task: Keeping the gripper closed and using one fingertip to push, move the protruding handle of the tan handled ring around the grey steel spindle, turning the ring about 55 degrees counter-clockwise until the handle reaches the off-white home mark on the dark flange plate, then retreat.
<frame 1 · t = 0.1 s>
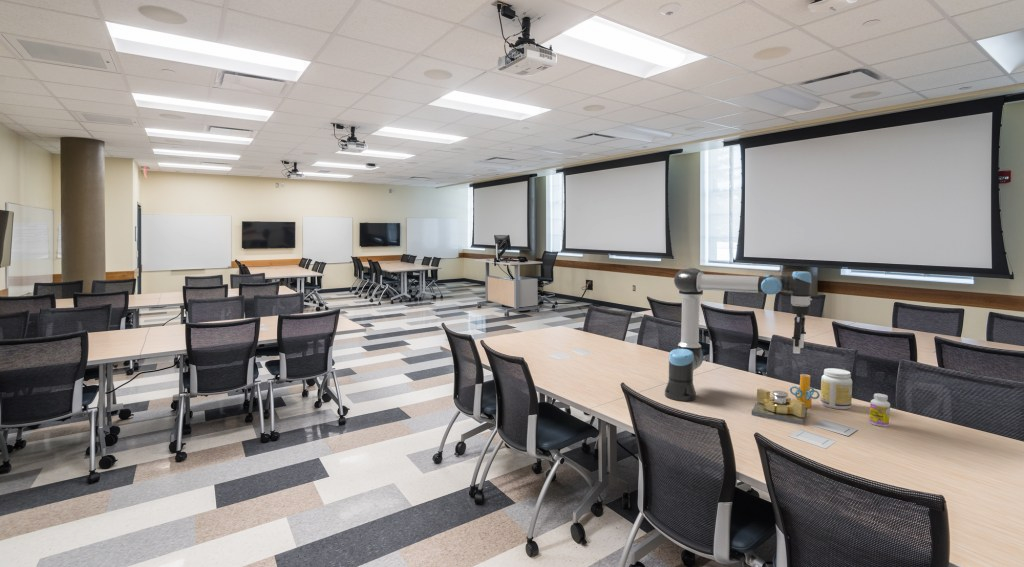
hand: (798, 350, 216), 28 cm above the table, fingers open, 13 cm apart
supplement tub: (835, 406, 222), on the table
tan handled ring: (779, 402, 212), point 5 cm above the table, hinge at 0.0°
cylinder: (803, 406, 222), on the table
supplement bottle: (878, 424, 200), on the table
flange plate: (779, 413, 213), on the table
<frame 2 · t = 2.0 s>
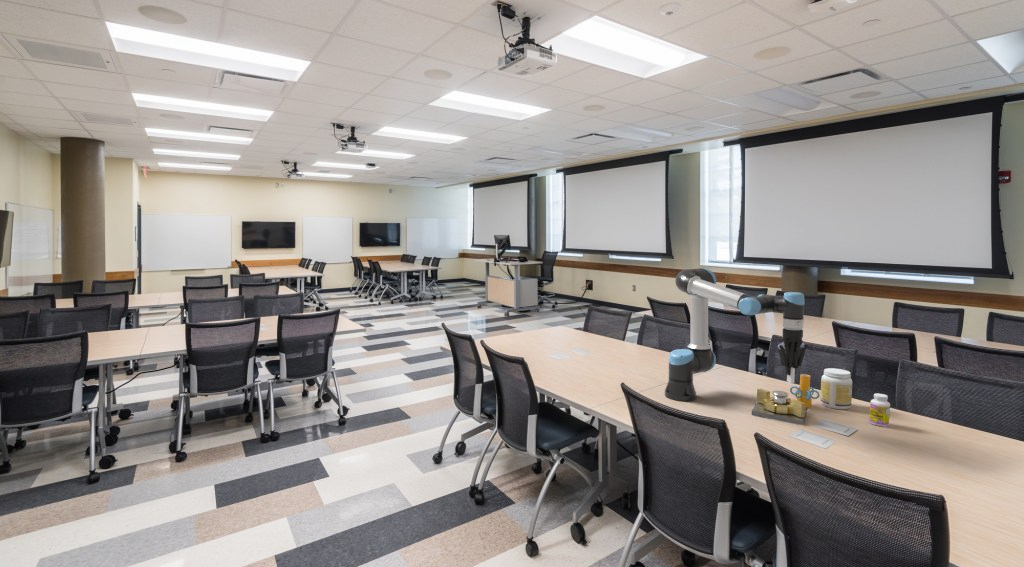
hand: (790, 382, 201), 18 cm above the table, fingers closed
nothing on the table moved.
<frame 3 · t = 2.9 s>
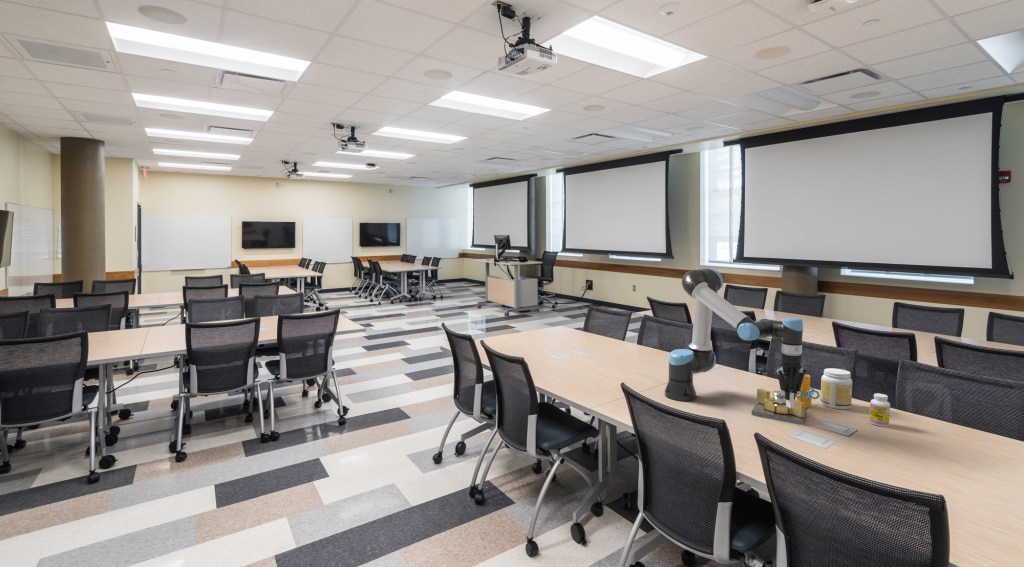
hand: (789, 406, 202), 7 cm above the table, fingers closed
nothing on the table moved.
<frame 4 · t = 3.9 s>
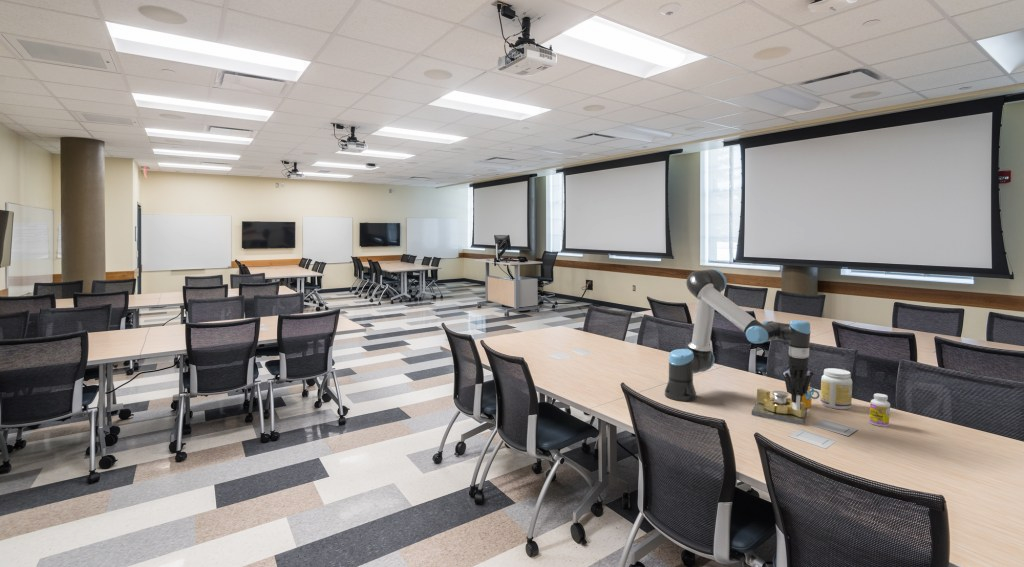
hand: (795, 409, 203), 6 cm above the table, fingers closed
tan handled ring: (779, 402, 212), point 5 cm above the table, hinge at 0.0°, touching gripper
everything else where it was.
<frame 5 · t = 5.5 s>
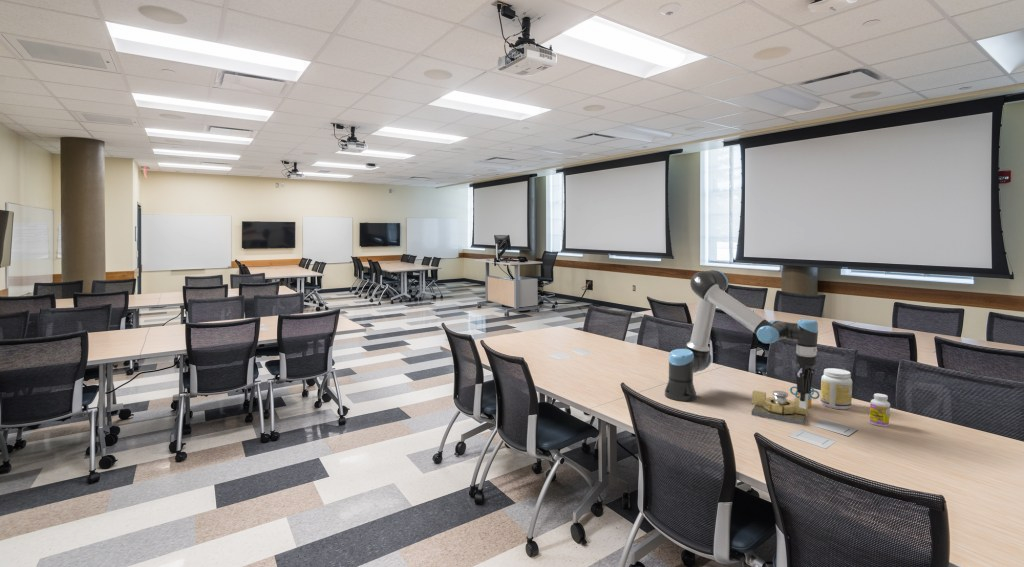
hand: (803, 407, 205), 5 cm above the table, fingers closed
tan handled ring: (779, 402, 212), point 5 cm above the table, hinge at 26.7°, touching gripper
everything else where it was.
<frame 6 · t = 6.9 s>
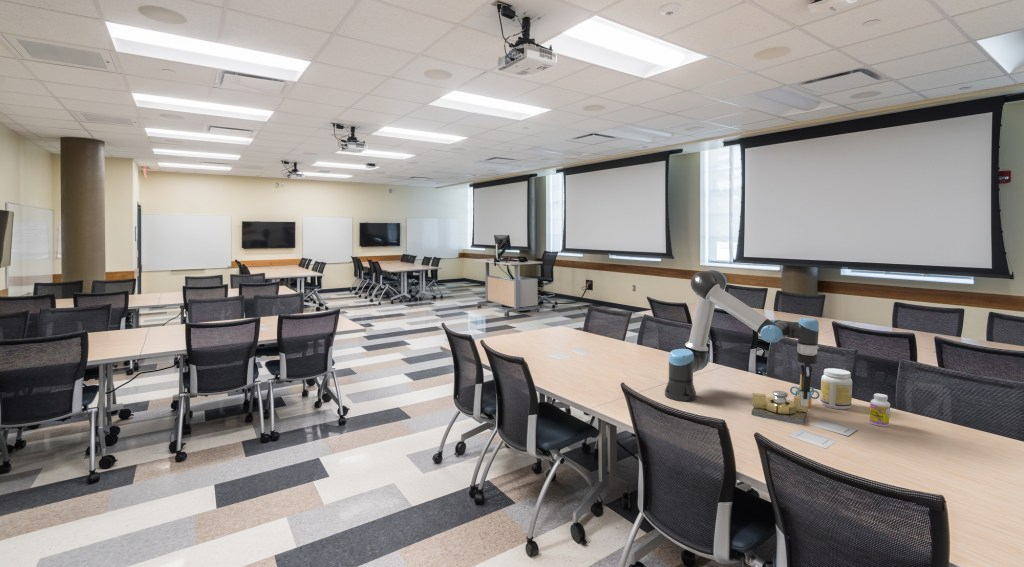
hand: (804, 405, 208), 5 cm above the table, fingers closed
tan handled ring: (779, 402, 212), point 5 cm above the table, hinge at 50.9°, touching gripper
everything else where it was.
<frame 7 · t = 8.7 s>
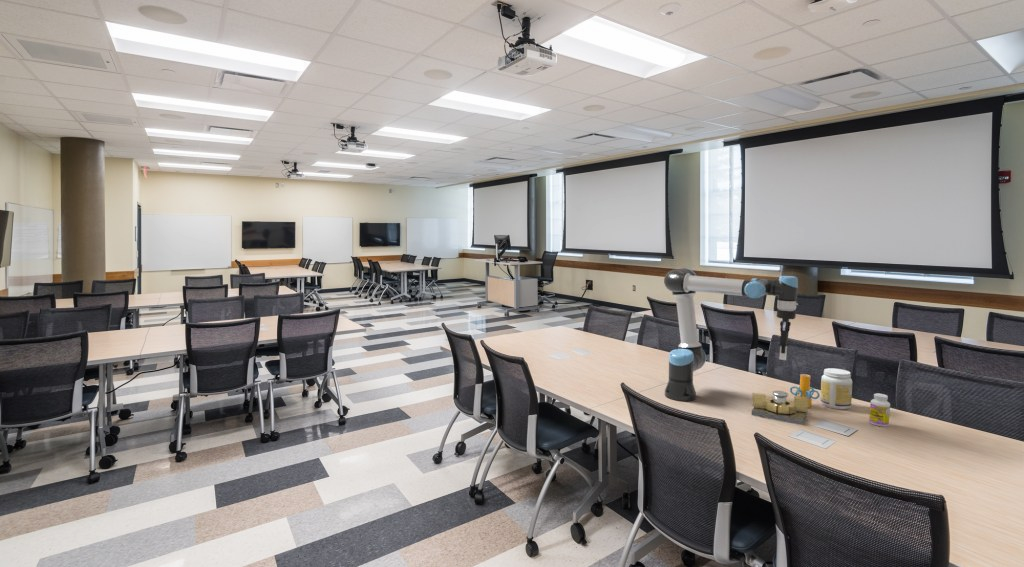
hand: (782, 359, 217), 24 cm above the table, fingers closed
tan handled ring: (779, 402, 212), point 5 cm above the table, hinge at 50.9°
everything else where it was.
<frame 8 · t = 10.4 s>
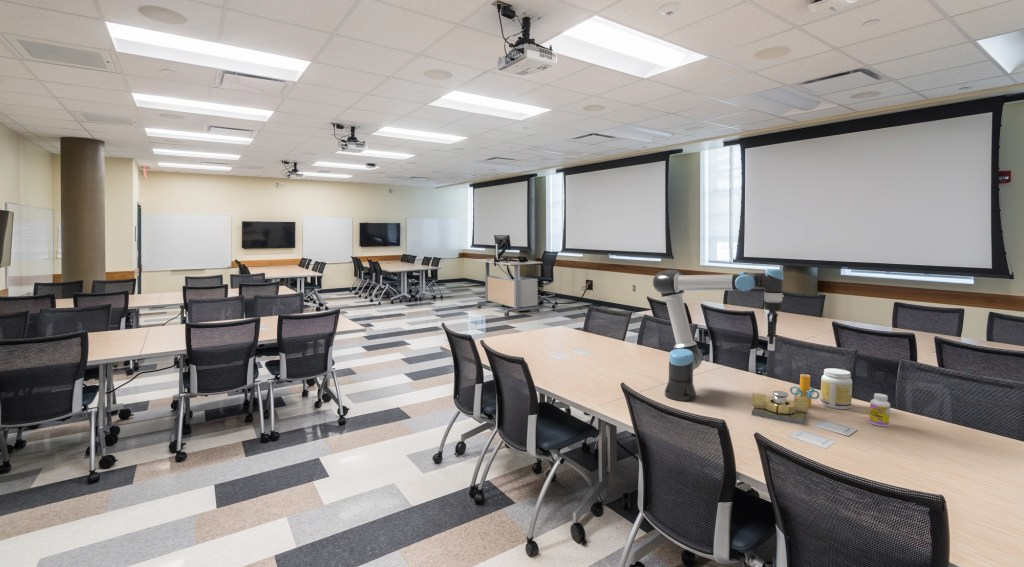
hand: (771, 350, 223), 26 cm above the table, fingers closed
nothing on the table moved.
at the end: tan handled ring at +51° (first picture: +0°) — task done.
